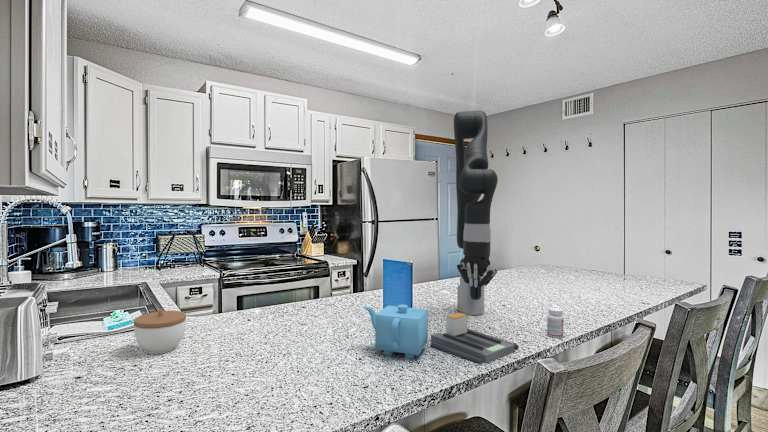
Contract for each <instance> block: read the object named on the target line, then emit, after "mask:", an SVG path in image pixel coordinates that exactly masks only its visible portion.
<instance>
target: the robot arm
mask: <svg viewBox="0 0 768 432" xmlns="http://www.w3.org/2000/svg"><path fill="white" fill-rule="evenodd" d="M488 131H489V130H488V118H487V113H486V112H485V111H484V110H468V111H467V110H466V111H464V110H463V111H458V112H455V114H454V116H453V133H454V134H453V136H454V145H455V146H454V147H455V158H456V159H455V160H456V161H455V165H456V168H455V185H456V187H455V188H456V203H457V204H456V205H457V212H456V213H457V215H456V216H457V217H456V218H457V219H456V220H457V221H456V243H457V244H456V245H457V247H458V248H459V249H462V254H463V255H464V257H463V258H461V259H460V260H459V261H460V262H459V264H457V265H456V268H457V270H458V272H459V285H458V286H457V294H456V295H457V296H456V298H457V300H456V302H457V305H456V310H457V311H459V313H463V314H466V315H469V316H478V315H479V316H480V315H484V313H485V287H486V286H488V285H489V284H490V283H491V281H492V279H494V277H495V276H496V275H497V273H498V270H497V269H493V267H492V266H491V262H490V257H491V207H492V202H493V199H494V195H495V192H496V189H497V186H498V175H497V173H496V171H495V170H494V169H490V168H489V159H488V152H487V151H488V150H487V149H488V148H487V147H488ZM469 139H472V140H471V141H470V142H469V143H468V144H467V145H465V141H464V140H469ZM482 195H483V197H482ZM481 197H482V199H480V198H481ZM479 199H480V200H479Z"/></svg>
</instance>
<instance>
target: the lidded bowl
mask: <svg viewBox="0 0 768 432" xmlns="http://www.w3.org/2000/svg"><path fill="white" fill-rule="evenodd" d="M186 319H187V314H186V313H185V312H184V311H180V310H164V309H163V308H162V309H157V311H151V312H148V313H143V314H141V315H139V316H137V317H135V318H134V320H133V326H134V337H135V341H136V342H137V344H138V346H139V347H140V348H141V349H142V350H143V351H145V353H147V354H150V355H158V354H159V355H160V354H165V353H169V352H171V351H173V350H175V349H176V346H178V345H179V343H180V342H181V341H182V339H183V338H184V336H185V335H184V334H185V331H186Z"/></svg>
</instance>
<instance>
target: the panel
mask: <svg viewBox="0 0 768 432" xmlns="http://www.w3.org/2000/svg"><path fill="white" fill-rule="evenodd" d="M468 329H469V328H467V332H466V333H463V334H460V335H457V336H452V335H449V334H446V330H443V331H439V332H436V333H433V334H430V342H431V343H432V342H433V343H436V344H439V345H442V346H445V347H448V348H451V349H454V350H457V351H460V352H463V353H466V354H469V355H472V356H475V357H477V358H480V359H482V363H485V364H488V363H490V362H492V361H495V360H497V359H500V358H502V357H505V356H507V355H510V354H512V353H515V345H514V344H515V343H514V344H511V343H512V342H511V343H508V342H509V341H507V342H505V341H506V340H504V341H502V340H503V339H501V340H499V339H500V338H498V339H496V338H497V337H495V338H492V337H493V336H492V337H489V336H490V335H489V336H486V335H487V334H486V335H483V334H484V333H483V334H480V333H481V332H480V333H477V332H478V331H477V332H474V331H475V330H473V331H471V330H472V329H470V330H468Z"/></svg>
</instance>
